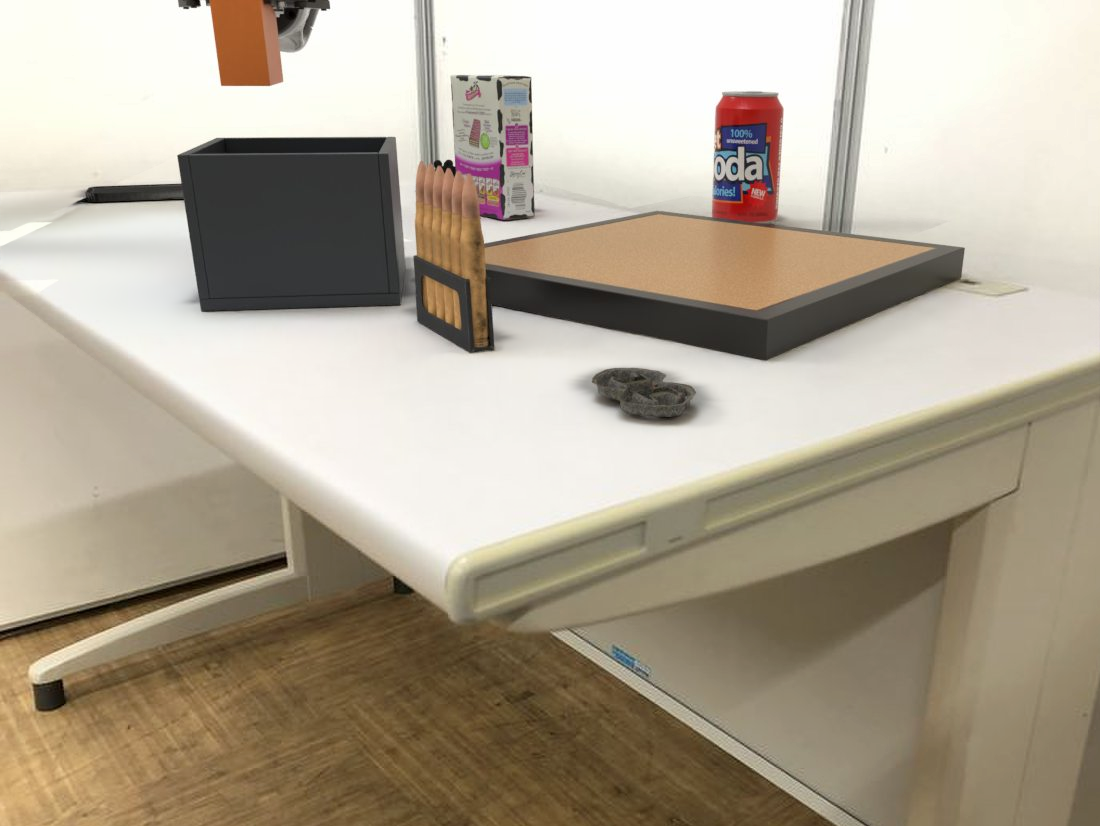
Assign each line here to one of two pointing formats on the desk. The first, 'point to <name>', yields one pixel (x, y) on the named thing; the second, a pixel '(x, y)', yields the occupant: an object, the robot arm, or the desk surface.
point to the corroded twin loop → (644, 391)
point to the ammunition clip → (451, 260)
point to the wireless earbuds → (445, 166)
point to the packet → (246, 43)
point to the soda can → (747, 156)
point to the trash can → (294, 222)
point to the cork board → (713, 278)
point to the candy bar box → (495, 141)
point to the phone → (134, 192)
